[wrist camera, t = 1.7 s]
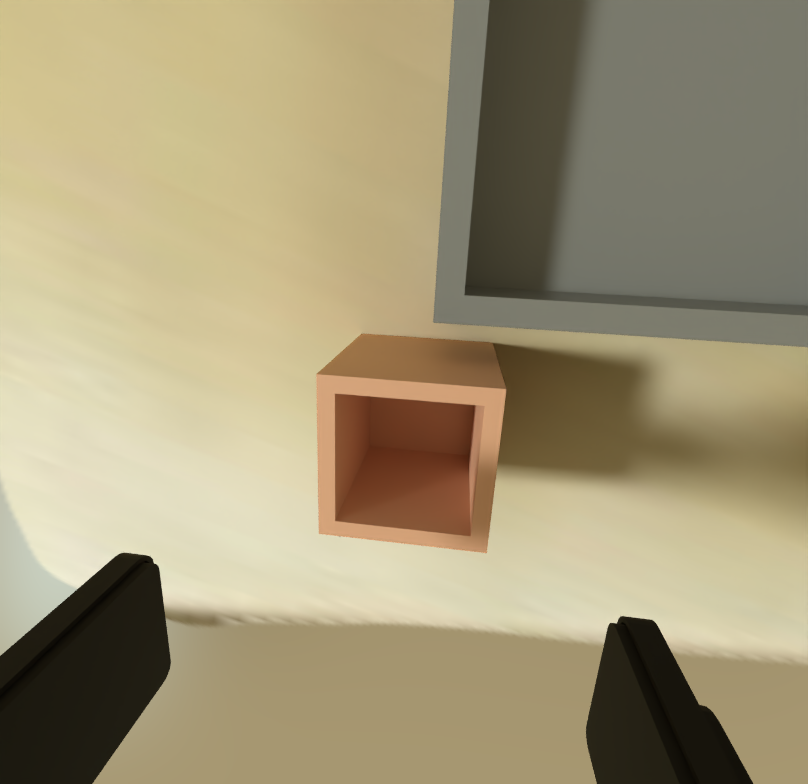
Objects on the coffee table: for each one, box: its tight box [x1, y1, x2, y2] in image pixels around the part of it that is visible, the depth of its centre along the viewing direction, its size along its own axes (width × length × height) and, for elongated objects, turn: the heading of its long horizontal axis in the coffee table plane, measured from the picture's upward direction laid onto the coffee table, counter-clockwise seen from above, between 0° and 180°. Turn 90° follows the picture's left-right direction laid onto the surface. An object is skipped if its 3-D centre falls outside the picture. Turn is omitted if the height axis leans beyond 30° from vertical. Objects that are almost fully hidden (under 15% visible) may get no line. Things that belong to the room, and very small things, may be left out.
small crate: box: [316, 334, 506, 553], centre depth 19 cm, size 6×6×7 cm
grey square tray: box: [433, 0, 808, 347], centre depth 15 cm, size 17×17×4 cm
